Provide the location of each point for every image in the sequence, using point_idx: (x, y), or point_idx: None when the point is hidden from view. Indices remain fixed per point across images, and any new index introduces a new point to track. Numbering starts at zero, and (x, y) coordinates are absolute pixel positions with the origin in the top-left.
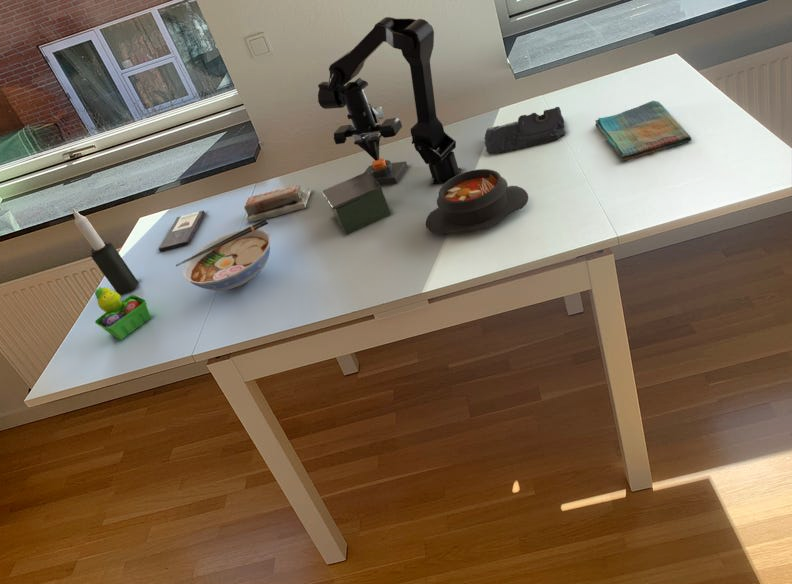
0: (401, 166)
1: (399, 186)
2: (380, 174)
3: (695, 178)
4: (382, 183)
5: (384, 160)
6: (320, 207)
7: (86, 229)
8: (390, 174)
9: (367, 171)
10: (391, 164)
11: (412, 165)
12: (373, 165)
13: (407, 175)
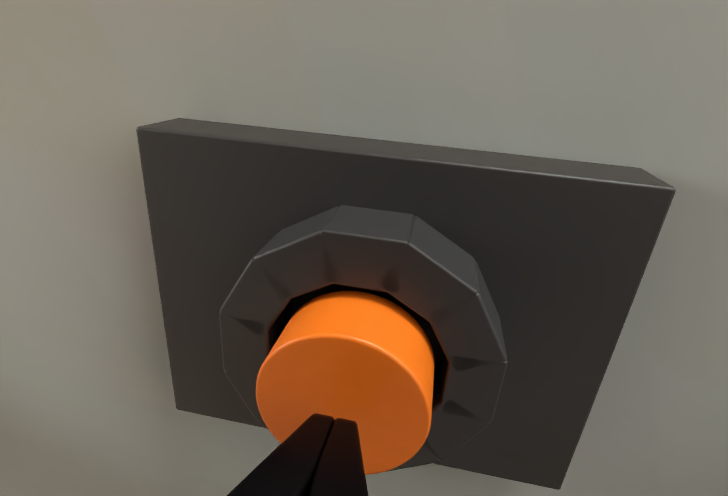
0: (613, 306)
1: (579, 487)
2: None
3: None
4: None
5: (427, 387)
6: (59, 492)
7: None
8: (496, 423)
9: (188, 267)
10: (487, 297)
11: (703, 141)
12: None
13: (645, 347)
